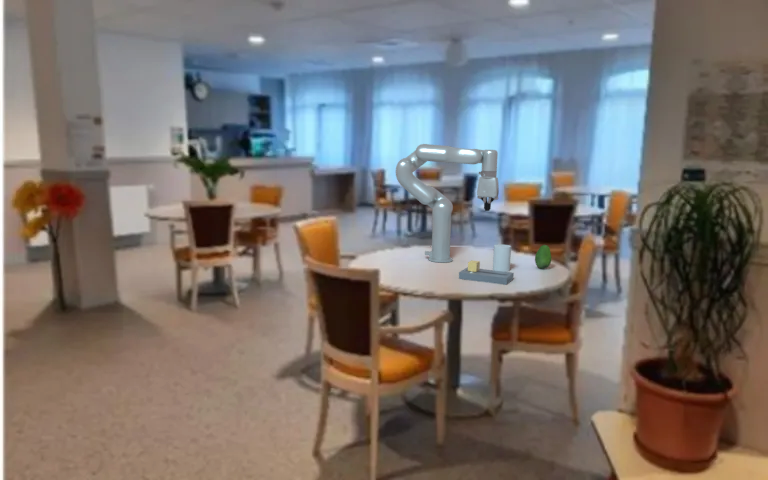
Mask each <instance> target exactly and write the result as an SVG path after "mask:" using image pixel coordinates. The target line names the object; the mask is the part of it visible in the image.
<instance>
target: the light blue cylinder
mask: <svg viewBox="0 0 768 480" xmlns="http://www.w3.org/2000/svg"><path fill="white" fill-rule="evenodd" d="M511 254H512V245H509V244H501V243H500V244H498V243H497V244H494V245H493V257H492V259H493V260H492V270H494V271H503V272H510V271H511Z"/></svg>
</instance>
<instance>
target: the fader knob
mask: <svg viewBox="0 0 768 480" xmlns="http://www.w3.org/2000/svg"><path fill="white" fill-rule="evenodd" d="M467 267H468V271H473V272H477V271H478V270H480V269H481V268H480V267H481V261H480V260H470V261H468V263H467Z"/></svg>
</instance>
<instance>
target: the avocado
mask: <svg viewBox="0 0 768 480" xmlns="http://www.w3.org/2000/svg"><path fill="white" fill-rule="evenodd" d="M551 253H552V252H551V249H550V247H549V245H546V244H543V245H541V246H539V248H538V249H537V252H536V253H535V256H534V262H535V265H536V267H537V268H538V269H541V270H545V269H547V268H549V267H550V264H551V262H552V254H551Z"/></svg>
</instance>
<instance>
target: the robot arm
mask: <svg viewBox="0 0 768 480" xmlns="http://www.w3.org/2000/svg"><path fill="white" fill-rule="evenodd" d="M427 162H436V163H443V164H444V163H445V164H464V165H479V164H481V171H478V175H480V176H479V179H478V184H477V191H476V195H477V197H476V198H477V199H478V200H481V201H482V202H483V204H484V205H483V210H484V212H489V211H490V210H491V209H492V208H491V207H492V206H491V204H492V203H493V202H494V201H497V200H499V194H500V193H499V191H500V189H499V179H498V178H499V177H497V174H498V173H497V171H498V150H496V149H478V148H464V147H463V148H462V147H454V146H450V145H441V144H430V143H429V144H428V143H421V144H419V145H417V147H416V148H415V150H414V151H413V152H411V153H410V154H409V155H408V156H407V157H403V158H401V159H399V161H398V162H397V164H396V167H395V178H396V180H397V182H398V184H399V185H400V186H401V187H402V188H403V189H405V190H406V191H407V192H408V193H409V194H410V195H411V196H412V197H414V198H415V199H416V200H417V201H419V203H421V205H426V206H427V207H429V208H430V209H432V210H431V214H432V216H431V217H432V226H431V227H432V228H431V230H432V233H431V235H432V236H431V250H425V251H424V255H425V256H428V261H429V262H433V263H450V262H453V257H451V235H452V233H451V232H452V231H451V230H452V212H453V209H454V206H453V203H452V201H451V200H450V199H449V198H448V197H446V196H445V195H444V194H443V193H442V192H440V191H439V190H438V189H437V188H436V187H435V186H434V187H433V186H432V185H426V184H425V183H424V182H423V181H422V180H420V179H419V178H418V177H417V176H415V175H414V174H413V173H415V171H417V170H418V169H419V168H421V166H423V165H424V164H426V163H427Z"/></svg>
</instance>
